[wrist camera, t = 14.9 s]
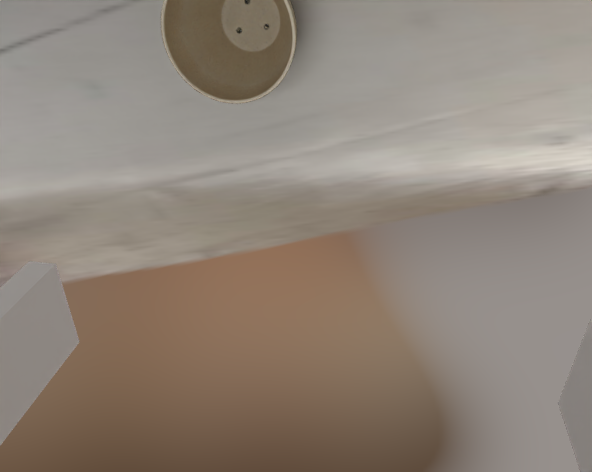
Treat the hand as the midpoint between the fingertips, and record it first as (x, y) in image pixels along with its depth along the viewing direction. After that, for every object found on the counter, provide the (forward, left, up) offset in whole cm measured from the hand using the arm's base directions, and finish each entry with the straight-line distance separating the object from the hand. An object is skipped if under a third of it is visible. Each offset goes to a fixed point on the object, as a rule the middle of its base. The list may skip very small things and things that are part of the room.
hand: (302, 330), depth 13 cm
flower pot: (-10, +2, -35) cm, 36 cm away
